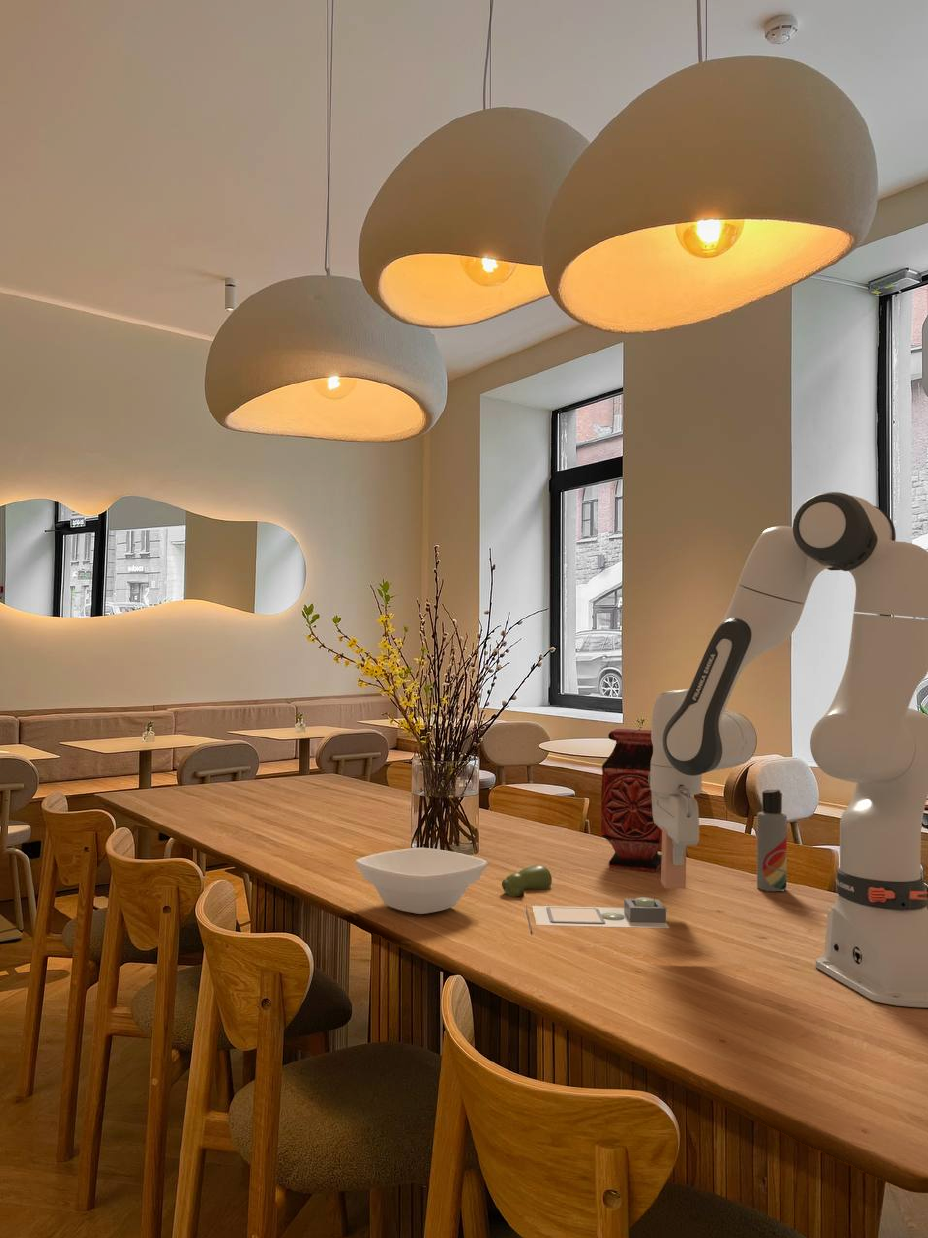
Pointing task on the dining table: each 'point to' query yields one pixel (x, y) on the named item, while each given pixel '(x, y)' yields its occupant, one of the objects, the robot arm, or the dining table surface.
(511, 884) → the pear
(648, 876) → the dining table surface
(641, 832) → the vase
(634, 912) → the button housing
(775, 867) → the lotion bottle
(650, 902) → the button
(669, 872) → the terracotta rectangular block
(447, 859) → the bowl
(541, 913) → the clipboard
